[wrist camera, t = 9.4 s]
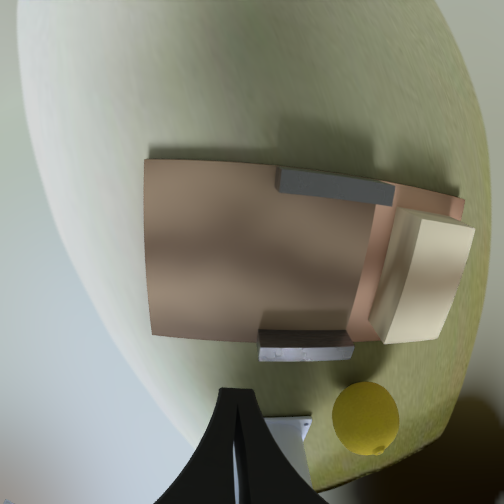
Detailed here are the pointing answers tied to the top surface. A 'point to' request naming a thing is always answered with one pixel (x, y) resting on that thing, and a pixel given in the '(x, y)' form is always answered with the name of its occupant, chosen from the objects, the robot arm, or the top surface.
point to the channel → (318, 341)
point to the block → (419, 275)
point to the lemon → (365, 418)
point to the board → (263, 251)
